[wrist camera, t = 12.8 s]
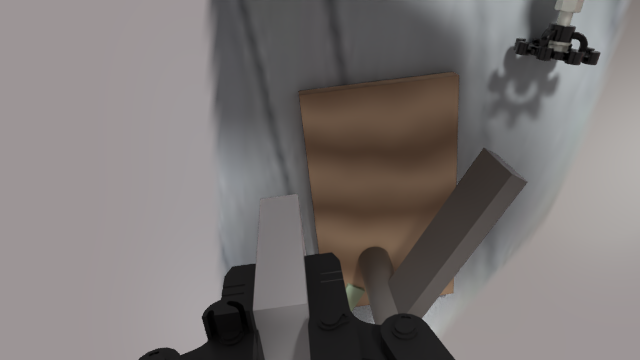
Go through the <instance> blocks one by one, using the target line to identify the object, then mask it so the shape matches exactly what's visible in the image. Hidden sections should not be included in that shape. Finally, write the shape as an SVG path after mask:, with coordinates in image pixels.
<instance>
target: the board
mask: <svg viewBox="0 0 640 360" xmlns="http://www.w3.org/2000/svg"><path fill="white" fill-rule="evenodd" d="M458 97H459V75H458V74H456V73H454V72H447V73H439V74H431V75H423V76H415V77H407V78H399V79H391V80H383V81H375V82H367V83H359V84H351V85H343V86H335V87H327V88H319V89H311V90H303V91H299V99H300V107H301V115H302V123H303V131H304V139H305V146H306V154H307V162H308V170H309V178H310V186H311V194H312V202H313V210H314V217H315V225H316V233H317V241H318V249H319V254H323V253H330V252H332V253H333V254H334V255H335V256H336V257H337V258H338V259H339V260H340V264H341V269H342V273H343V279H344V283H345V288H346V293H347V298H348V302H349V307H350V310H351V312H352V311H353V309H354V308H355V307H357V306H365V305H370V303H369V300H368V296H367V292H366V288H365V285H364V281H363V277H362V273H361V270H360V266H359V256H360V255H361V253H362V252H363V251H364V250H366V249H367V248H370V247H381V248H383V249H385V250H386V251H387V252H388V254H389V257H390V259H391V262H392V265H393V267H394V270H395V271H396V270H397V269H398V267H399V266H400V264H401V263H402V262H403V260H404V259H405V257H406V256H407V255H408V253H409V252H410V250H411V249H412V248H413V246H414V245H415V243H416V242H417V241H418V239H419V238H420V236H421V235H422V234H423V232H424V231H425V229H426V228H427V227H428V225H429V224H430V222H431V221H432V220H433V218H434V217H435V215H436V214H437V213H438V211H439V210H440V208H441V207H442V206H443V204H444V203H445V201H446V200H447V199H448V197H449V196H450V194H451V193H452V192H453V190H454V189H455V187H456V173H457V135H458ZM453 286H454V277H453V279H452V280H451V281H450V283H449V284H448V285H447V286H446V288H445V289H444V290H443V292H442V293H441V294H440V295H444V294H451V293H453Z"/></svg>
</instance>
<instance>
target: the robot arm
mask: <svg viewBox="0 0 640 360" xmlns="http://www.w3.org/2000/svg"><path fill="white" fill-rule="evenodd" d="M202 320H203V324H204V327H205V331H206V334H207V338H208V342H207V343H205V344H204V345H202V346H201V347H199V348H197V349H195V350H193V351H190V352H188V353H185V354H183V355H180V354H179V353H178V352H177V351H176V350H174V349H171V348H158V349H155V350H153V351H150V352H148V353H146V354H145V355H143V356H142V357H141V358H139V360H455V359H454V358H453V356H452V355H451V354H450V353H449V351H448V350H447V349H446V348H445V346H444V345H443V344H442V342H441V341H440V340H439V338H438V337H437V336H436V335H435V333H434V332H433V331H432V330H431V328H430V327H429V326H428V324H427V323H426V322H425V321H424V320H422V319H421V318H420V317H418V316H415V315H413V314H406V313H400V314H395V315H392V316H390V317H388V318H386V320H385V321H384V322H383V323H382V325H378V324H371V323H366V322H363V321H361V320H359V319H358V318H356V317H355V316H354V315H353V314H352V312H351V310H350V307H349V302H348V298H347V293H346V288H345V283H344V279H343V273H342V269H341V264H340V260H339V259H338V258H337V257H336V256H335V255H334V254H333V253H332V252H330V253H323V254H315V255H308V256H306V249H305V242H304V235H303V228H302V221H301V214H300V207H299V200H298V194H293V195H286V196H278V197H270V198H263V199H260V213H259V227H258V242H257V257H256V264H248V265H241V266H234V267H232V268H231V269H230V270H229V272H228V273H227V274H226V276H225V278H224V284H223V290H222V298H221V300H219V301H217V302H215V303H213V304H212V305H210V306H209V307H208V308H207V309H206V310H205V312H204V313H203V316H202Z"/></svg>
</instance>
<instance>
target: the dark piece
mask: <svg viewBox="0 0 640 360" xmlns="http://www.w3.org/2000/svg"><path fill="white" fill-rule="evenodd" d="M526 183H527V181H526V180H525V179H524V178H523V177H521V176H520V175H519V174H518V173H517V172H516V171H515V170H514V169H512V168H511V167H510V166H509V165H508V164H507V163H506V162H505V161H504V160H502V159H501V158H500V157H499V156H498V155H496V154H495V153H493V152H491V151H489V150H487V149H485V148H483V150H482V151H481V152H480V154H479V155H478V157H477V158H476V159H475V161H474V162H473V164H472V165H471V166H470V168H469V169H468V171H467V172H466V173H465V175H464V176H463V178H462V179H461V180H460V182H459V183H458V185H457V186H456V187H455V189H454V190H453V192H452V193H451V194H450V196H449V197H448V199H447V200H446V201H445V203H444V204H443V206H442V207H441V208H440V210H439V211H438V213H437V214H436V215H435V217H434V218H433V220H432V221H431V222H430V224H429V225H428V227H427V228H426V229H425V231H424V232H423V234H422V235H421V236H420V238H419V239H418V241H417V242H416V243H415V245H414V246H413V248H412V249H411V250H410V252H409V253H408V255H407V256H406V257H405V259H404V260H403V262H402V263H401V264H400V266H399V267H398V269H397V270H396V271H395V270H394V267H393V265H392V262H391V259H390V257H389V254H388V252H387V251H386V250H385V249H383V248H381V247H370V248H367V249H366V250H364V251H363V252H362V253H361V255H360V256H359V266H360V270H361V273H362V277H363V281H364V285H365V288H366V292H367V296H368V300H369V303H370V307H371V311H372V314H373V318H374V322H375V324H378V325H382V323H383V322H384V321H385V320H386V318H388V317H390V316H392V315H395V314H400V313H406V314H413V315H415V316H418V317H420V318H421V319H422V317H423V316H424V315H425V314H426V312H427V311H428V310H429V308H430V307H431V306H432V305H433V303H434V302H435V301H436V299H437V298H438V297H439V296H440V294H441V293H442V292H443V290H444V289H445V288H446V286H447V285H448V284H449V283H450V281H451V280H452V279H453V277H454V276H455V275H456V274H457V272H458V271H459V270H460V268H461V267H462V266H463V265H464V263H465V262H466V261H467V259H468V258H469V257H470V256H471V254H472V253H473V252H474V250H475V249H476V248H477V247H478V245H479V244H480V243H481V241H482V240H483V239H484V237H485V236H486V235H487V234H488V232H489V231H490V230H491V228H492V227H493V226H494V225H495V223H496V222H497V221H498V219H499V218H500V217H501V216H502V214H503V213H504V212H505V210H506V209H507V208H508V207H509V205H510V204H511V203H512V201H513V200H514V199H515V198H516V196H517V195H518V194H519V192H520V191H521V190H522V189H523V187H524V186H525V185H526Z"/></svg>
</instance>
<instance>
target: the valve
mask: <svg viewBox="0 0 640 360" xmlns="http://www.w3.org/2000/svg"><path fill="white" fill-rule="evenodd" d="M583 2H584V0H557V2H556V5H555V8H554V9H555V10H558V11H560V13H559V16H558V20H557V23H550V24H549V27H548V29H546V30H545V31H544V33H543V35H542V37H541V39H533V41H532V43H527V42H525V41H526V39H523V38H517V39H516V42H515V46H514V50H515V53H516V54H519V55H526V56H527V55H529V54H530V55H535V56H536V59H538V60H543V61H551V59H555V60H562V61H564V62H565V63H567V64H571V65H580V63H581V62H582V63H584V64H588V65H596V64H597V62H598V59H599V56H600V52H598V51H594V50H595V49H594V48H590V47H587V46H588V42H587V39H586V37H585V36H584V35H583V34H582V33H579V32H575V29H576V27H575V26H571V25H570V22H571V19H572V16H573V13H579V12H580V11H581V8H582V5H583ZM572 39H577V40H579V41H580V47H579V50H577V49H573V48H571V47H572V44H571V42H572Z"/></svg>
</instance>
